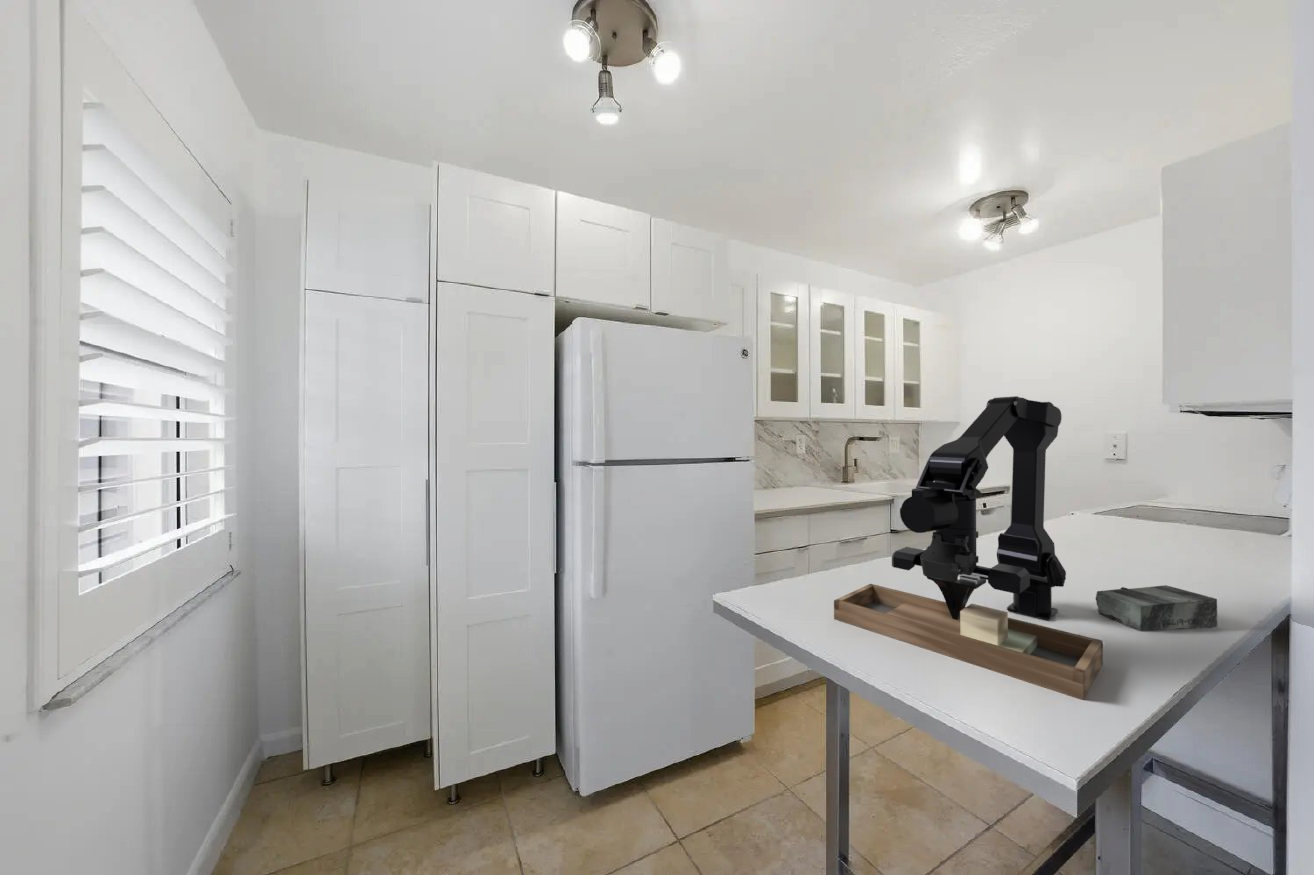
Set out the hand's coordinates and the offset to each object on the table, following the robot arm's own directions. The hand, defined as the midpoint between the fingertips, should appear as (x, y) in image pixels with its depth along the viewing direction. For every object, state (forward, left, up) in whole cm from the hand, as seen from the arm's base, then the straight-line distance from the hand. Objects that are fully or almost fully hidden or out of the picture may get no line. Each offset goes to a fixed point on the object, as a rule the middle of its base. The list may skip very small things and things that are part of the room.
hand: (956, 618), depth 78 cm
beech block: (0, +4, -2) cm, 4 cm away
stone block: (-35, +20, -4) cm, 40 cm away
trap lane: (0, 0, -4) cm, 4 cm away
